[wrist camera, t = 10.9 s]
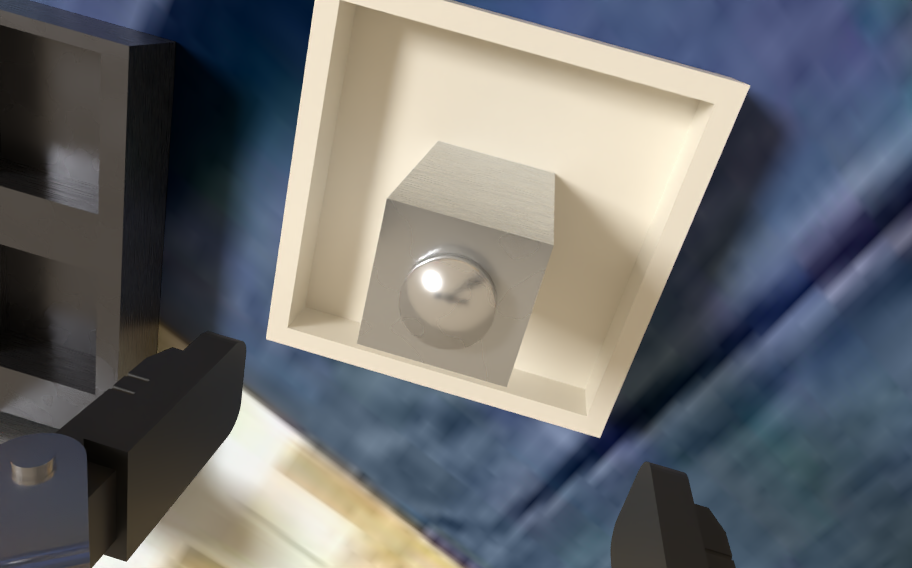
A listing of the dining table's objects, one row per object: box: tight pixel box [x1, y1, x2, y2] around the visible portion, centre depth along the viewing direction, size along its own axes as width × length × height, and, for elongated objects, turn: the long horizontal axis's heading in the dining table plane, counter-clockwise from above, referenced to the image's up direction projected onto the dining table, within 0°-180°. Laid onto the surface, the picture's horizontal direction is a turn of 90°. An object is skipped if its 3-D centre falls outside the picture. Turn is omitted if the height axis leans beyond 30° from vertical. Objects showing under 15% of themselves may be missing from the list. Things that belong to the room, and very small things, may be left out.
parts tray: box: [266, 0, 750, 438], centre depth 24 cm, size 14×14×3 cm
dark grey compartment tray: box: [0, 0, 176, 429], centre depth 28 cm, size 8×24×3 cm, turn 166°
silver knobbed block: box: [357, 141, 555, 387], centre depth 21 cm, size 4×4×9 cm
